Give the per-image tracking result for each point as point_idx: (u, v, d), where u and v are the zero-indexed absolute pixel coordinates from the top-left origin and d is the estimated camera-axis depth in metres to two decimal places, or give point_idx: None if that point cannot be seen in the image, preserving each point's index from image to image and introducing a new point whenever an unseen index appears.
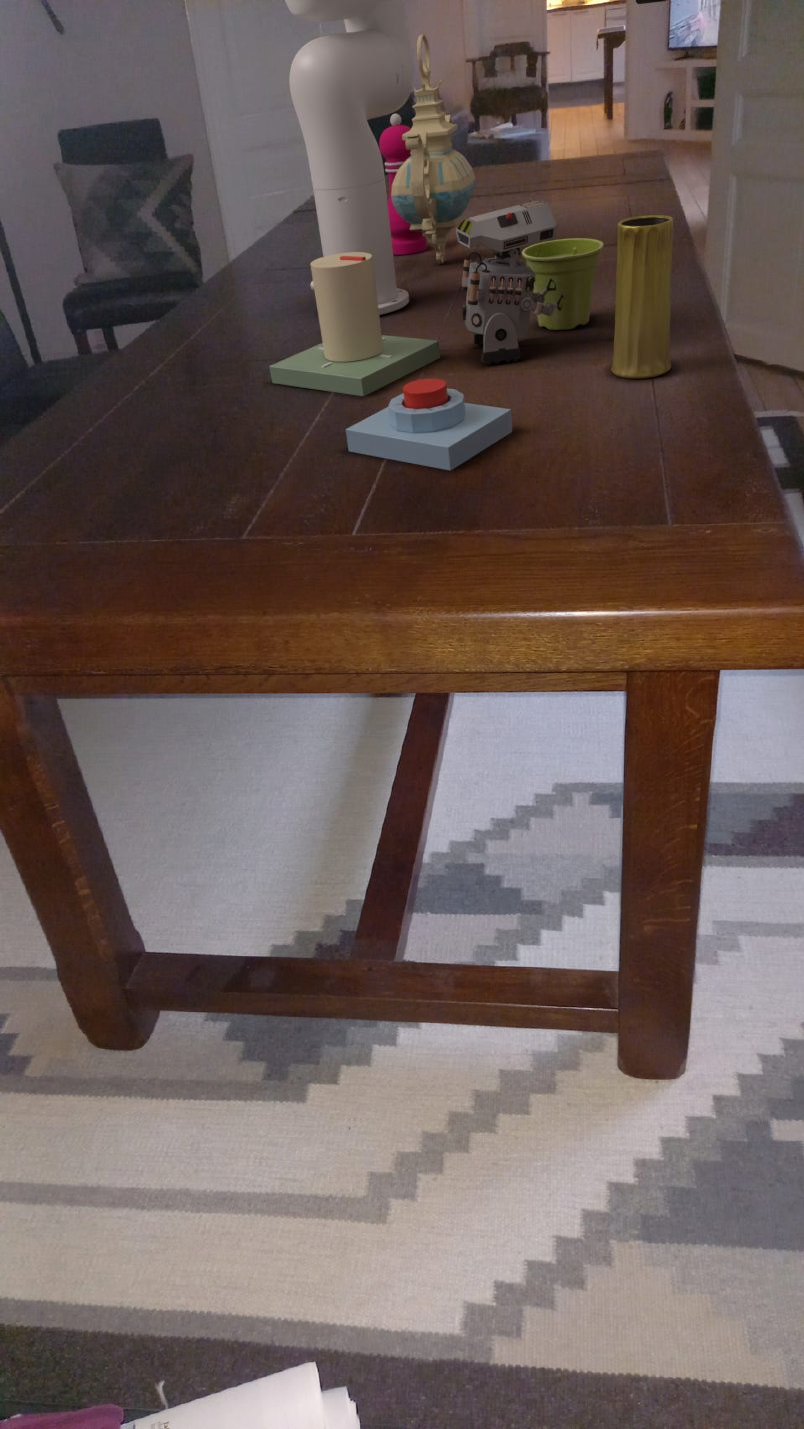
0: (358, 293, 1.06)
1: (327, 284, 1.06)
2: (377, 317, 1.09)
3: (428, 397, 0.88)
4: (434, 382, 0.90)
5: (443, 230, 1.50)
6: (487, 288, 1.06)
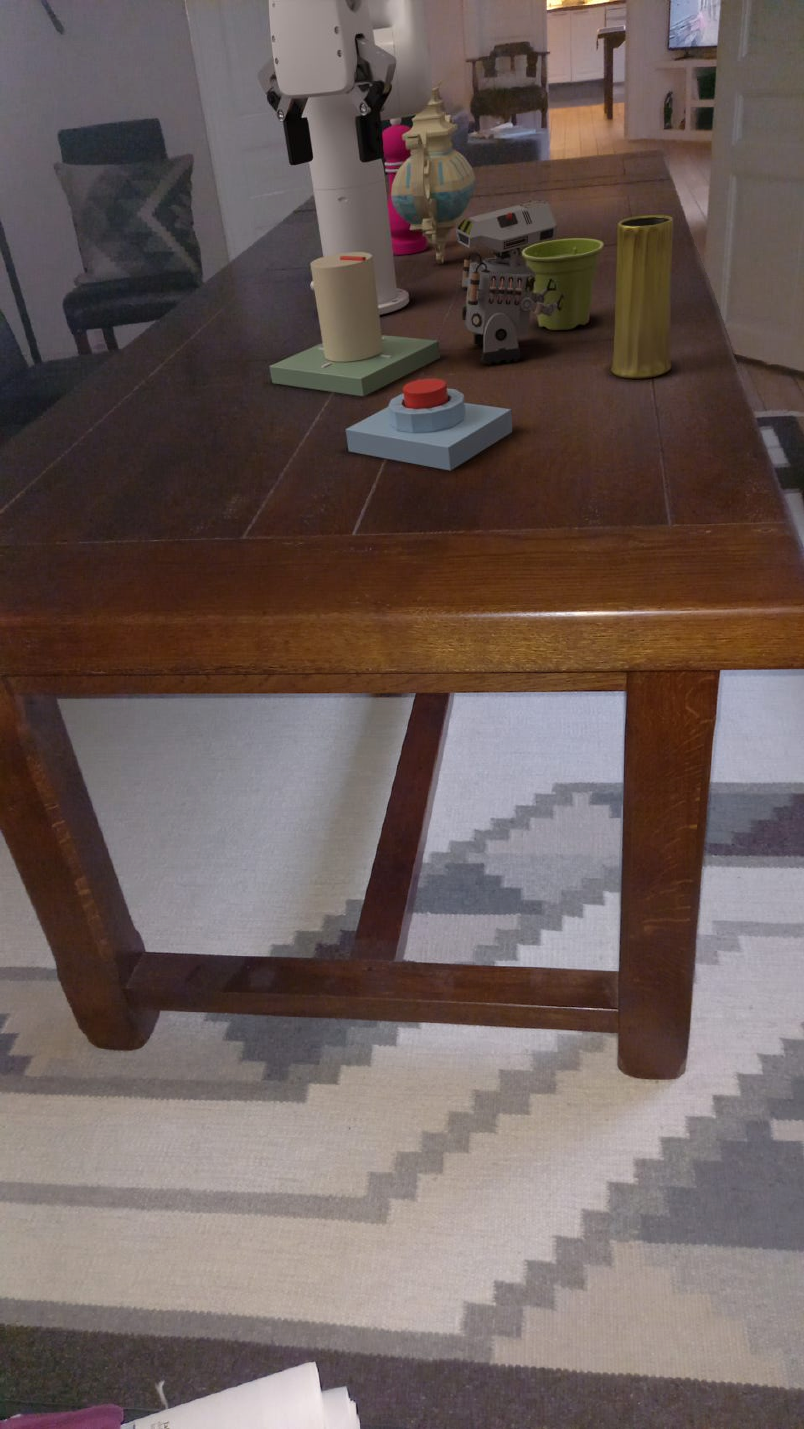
0: (358, 293, 1.06)
1: (327, 284, 1.06)
2: (377, 317, 1.09)
3: (428, 397, 0.88)
4: (434, 382, 0.90)
5: (443, 230, 1.50)
6: (487, 288, 1.06)
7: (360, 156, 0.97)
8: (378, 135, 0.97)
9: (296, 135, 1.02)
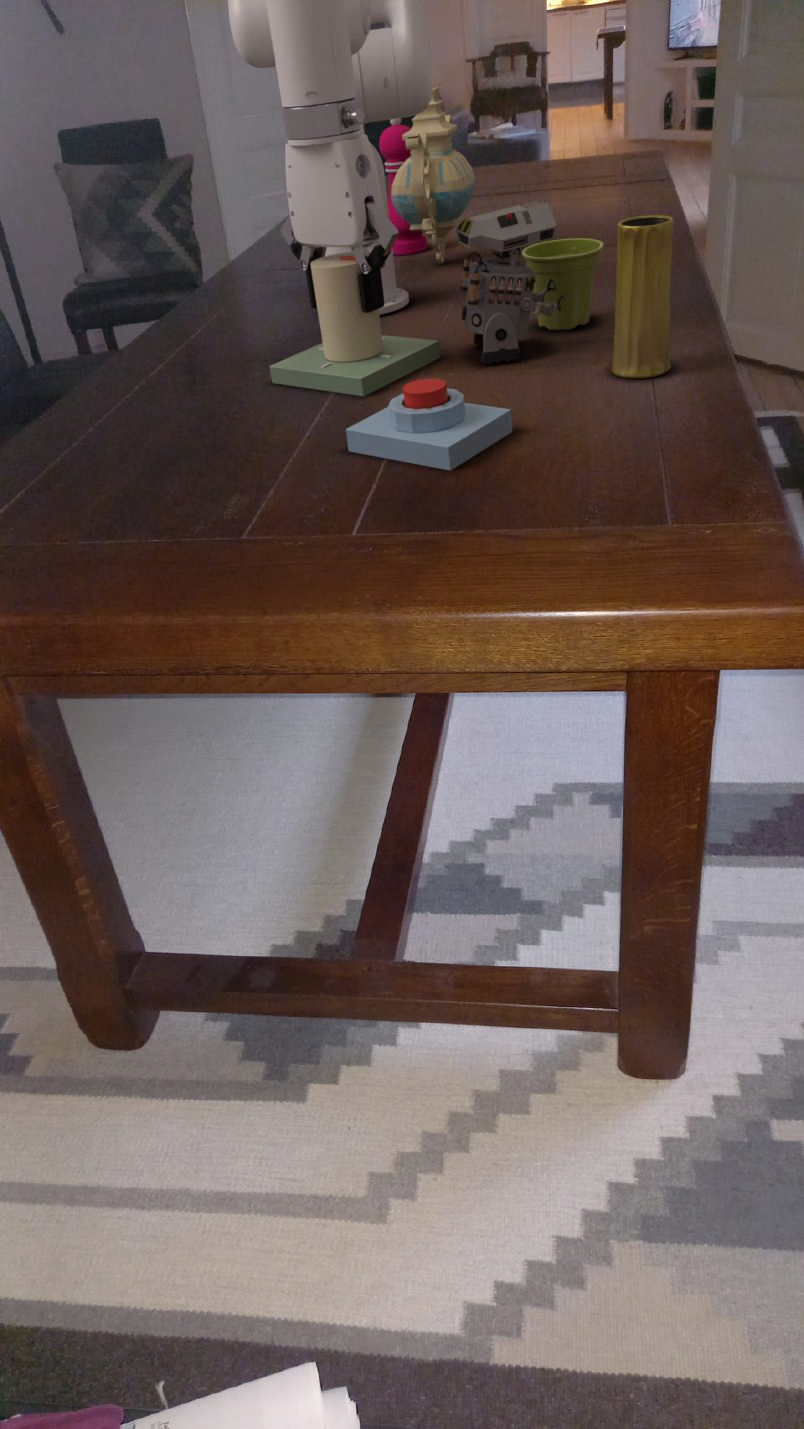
0: (358, 293, 1.06)
1: (327, 284, 1.06)
2: (377, 317, 1.09)
3: (428, 397, 0.88)
4: (434, 382, 0.90)
5: (443, 230, 1.50)
6: (487, 288, 1.06)
7: (362, 307, 1.07)
8: (378, 289, 1.06)
9: None
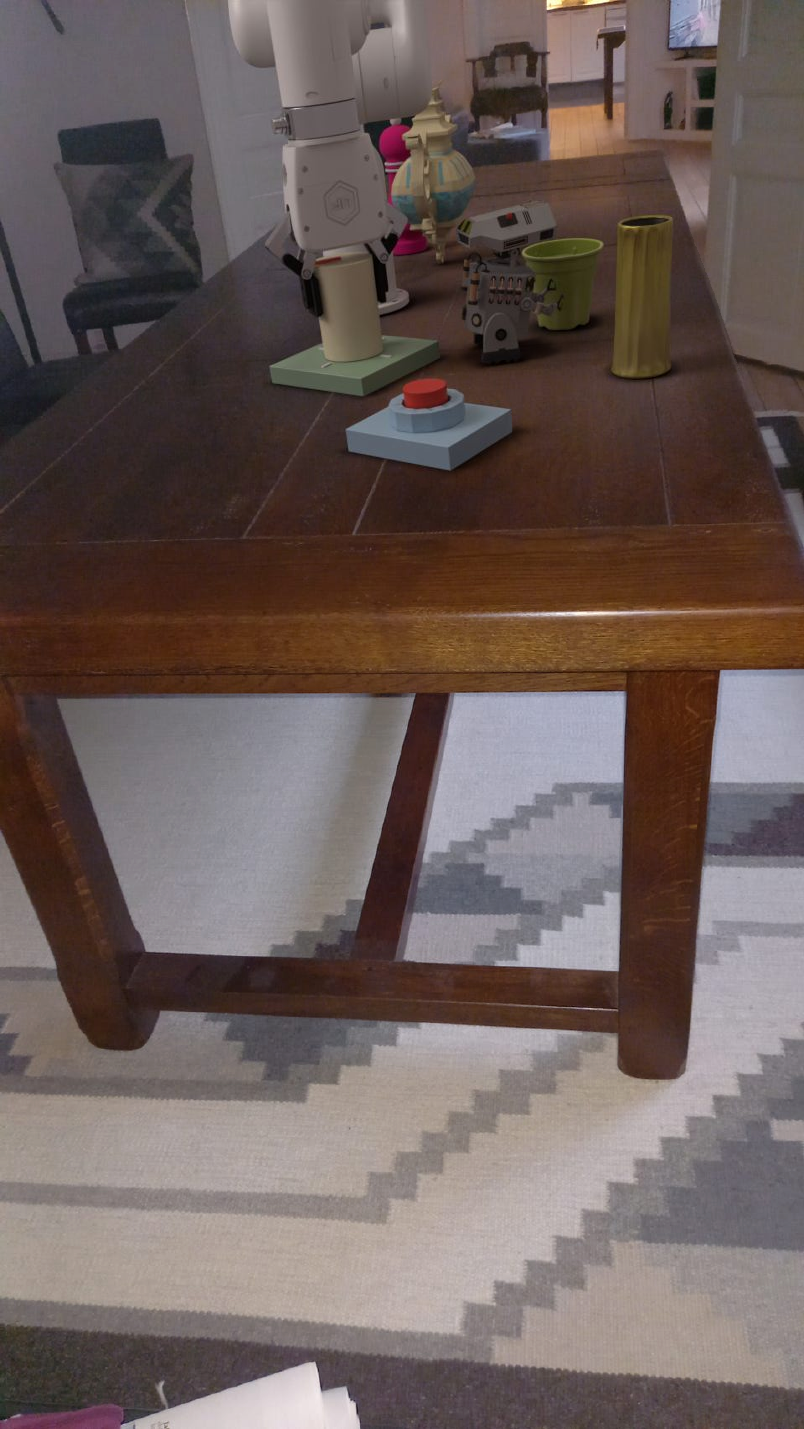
0: None
1: None
2: (326, 326, 1.09)
3: (428, 397, 0.88)
4: (434, 382, 0.90)
5: (443, 230, 1.50)
6: (487, 288, 1.06)
7: None
8: (304, 296, 1.07)
9: None
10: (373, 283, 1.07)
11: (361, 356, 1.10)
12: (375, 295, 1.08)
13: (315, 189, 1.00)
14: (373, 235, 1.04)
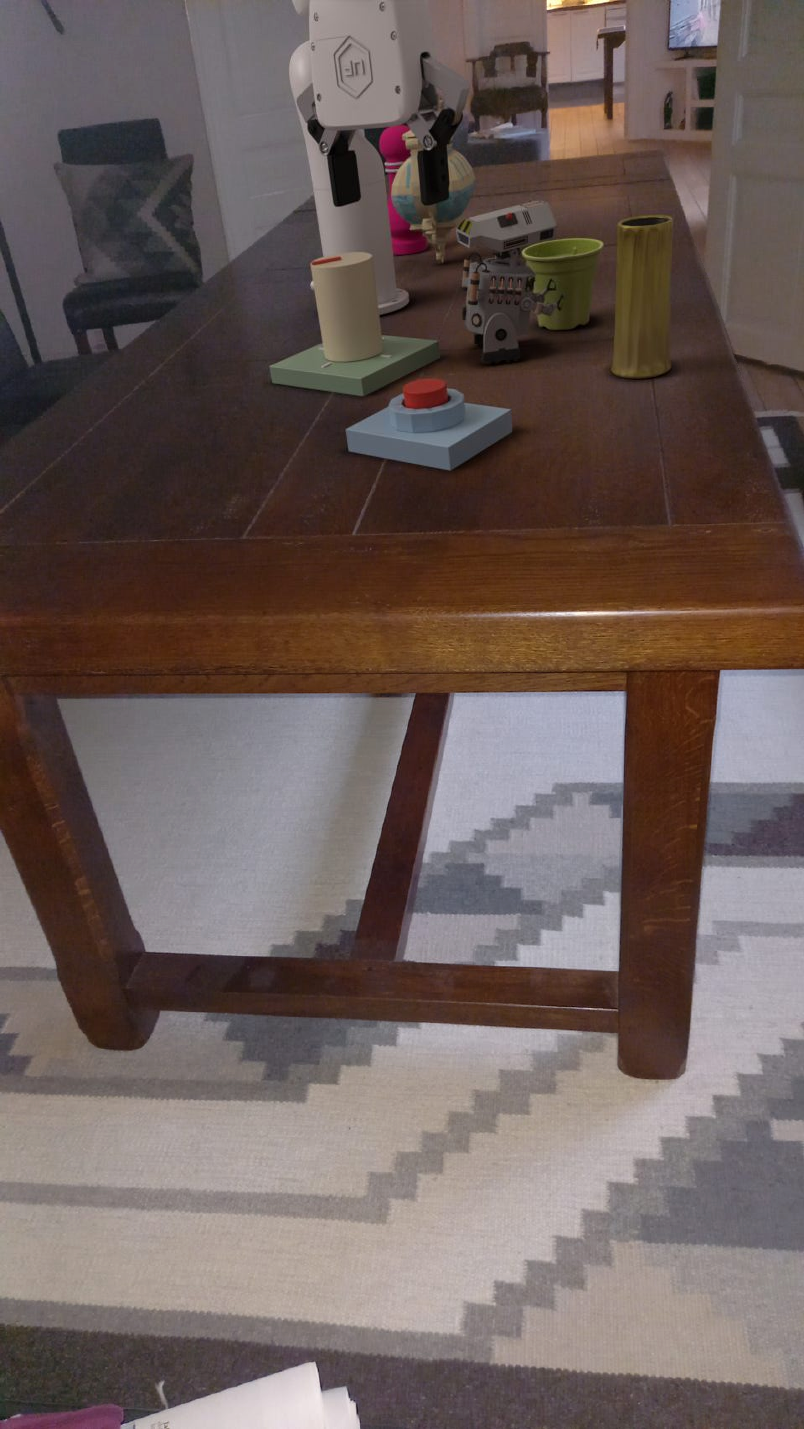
0: None
1: None
2: (326, 326, 1.09)
3: (428, 397, 0.88)
4: (434, 382, 0.90)
5: (443, 230, 1.50)
6: (487, 288, 1.06)
7: None
8: None
9: None
10: (373, 283, 1.07)
11: (361, 356, 1.10)
12: (375, 296, 1.08)
13: (326, 45, 0.78)
14: (389, 118, 0.78)
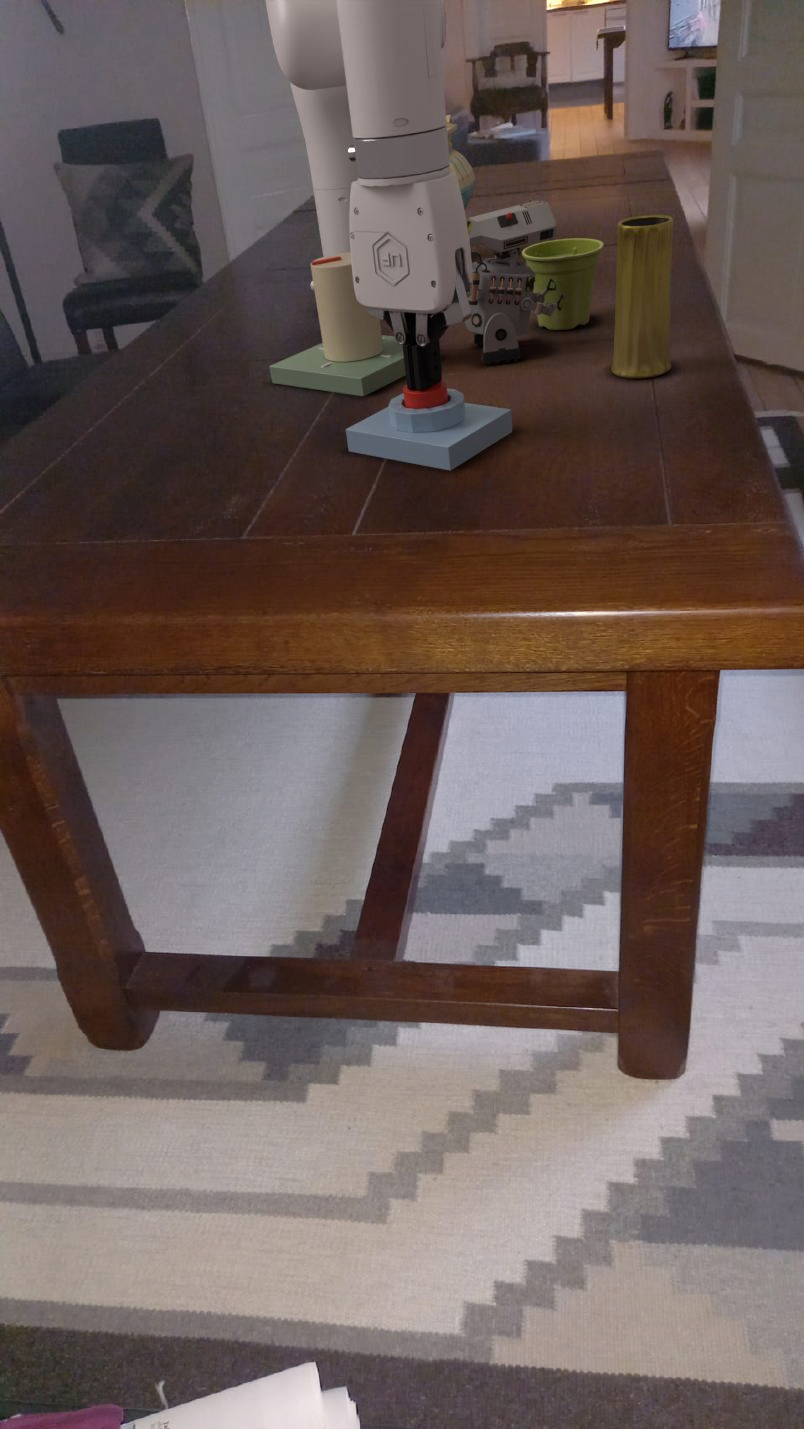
0: None
1: None
2: (326, 326, 1.09)
3: (428, 397, 0.88)
4: None
5: None
6: (487, 288, 1.06)
7: None
8: None
9: None
10: None
11: (361, 356, 1.10)
12: None
13: (365, 237, 0.82)
14: (424, 307, 0.82)
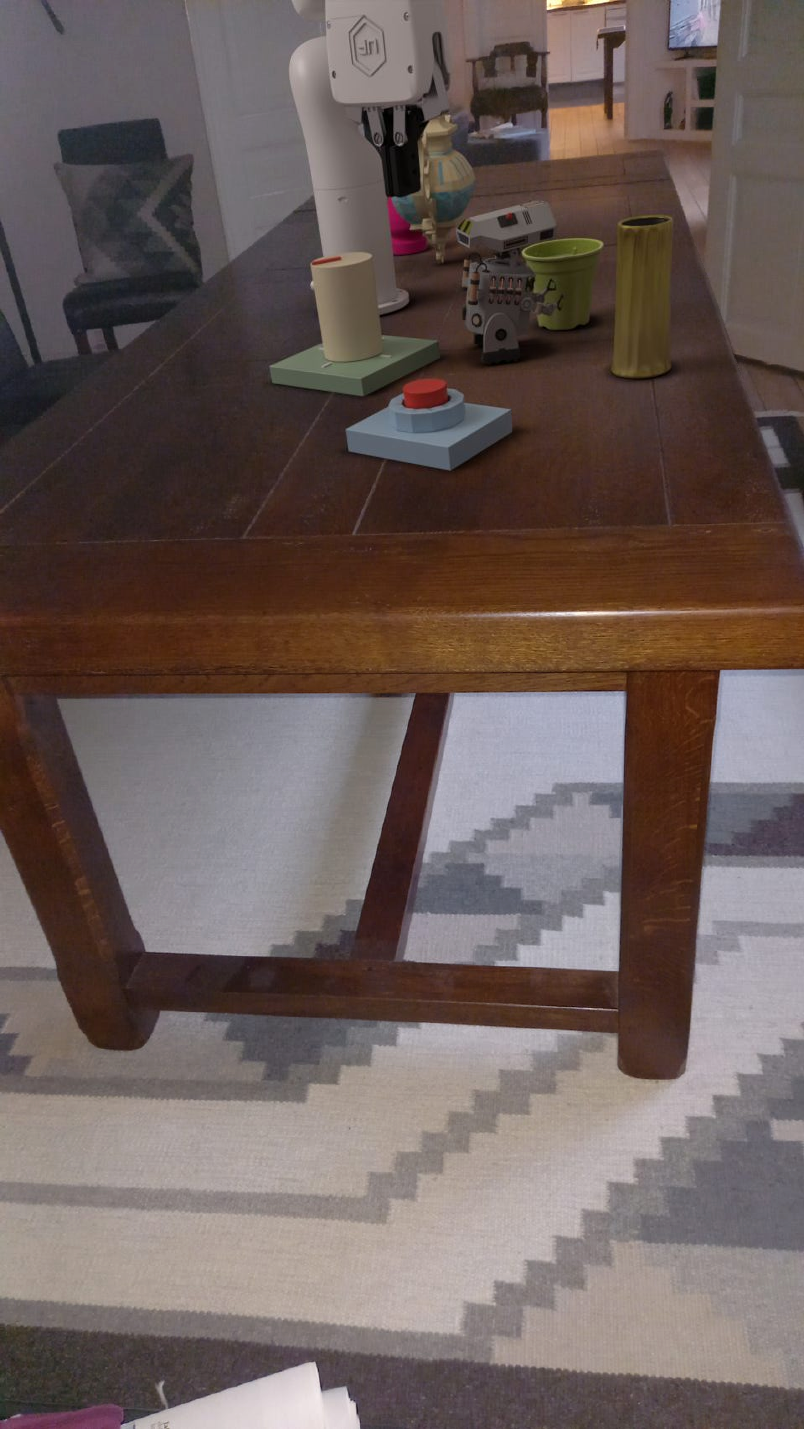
0: None
1: None
2: (326, 326, 1.09)
3: (428, 397, 0.88)
4: (434, 382, 0.90)
5: (443, 230, 1.50)
6: (487, 288, 1.06)
7: None
8: None
9: None
10: (373, 283, 1.07)
11: (361, 356, 1.10)
12: (375, 296, 1.08)
13: (341, 24, 0.80)
14: (401, 96, 0.80)
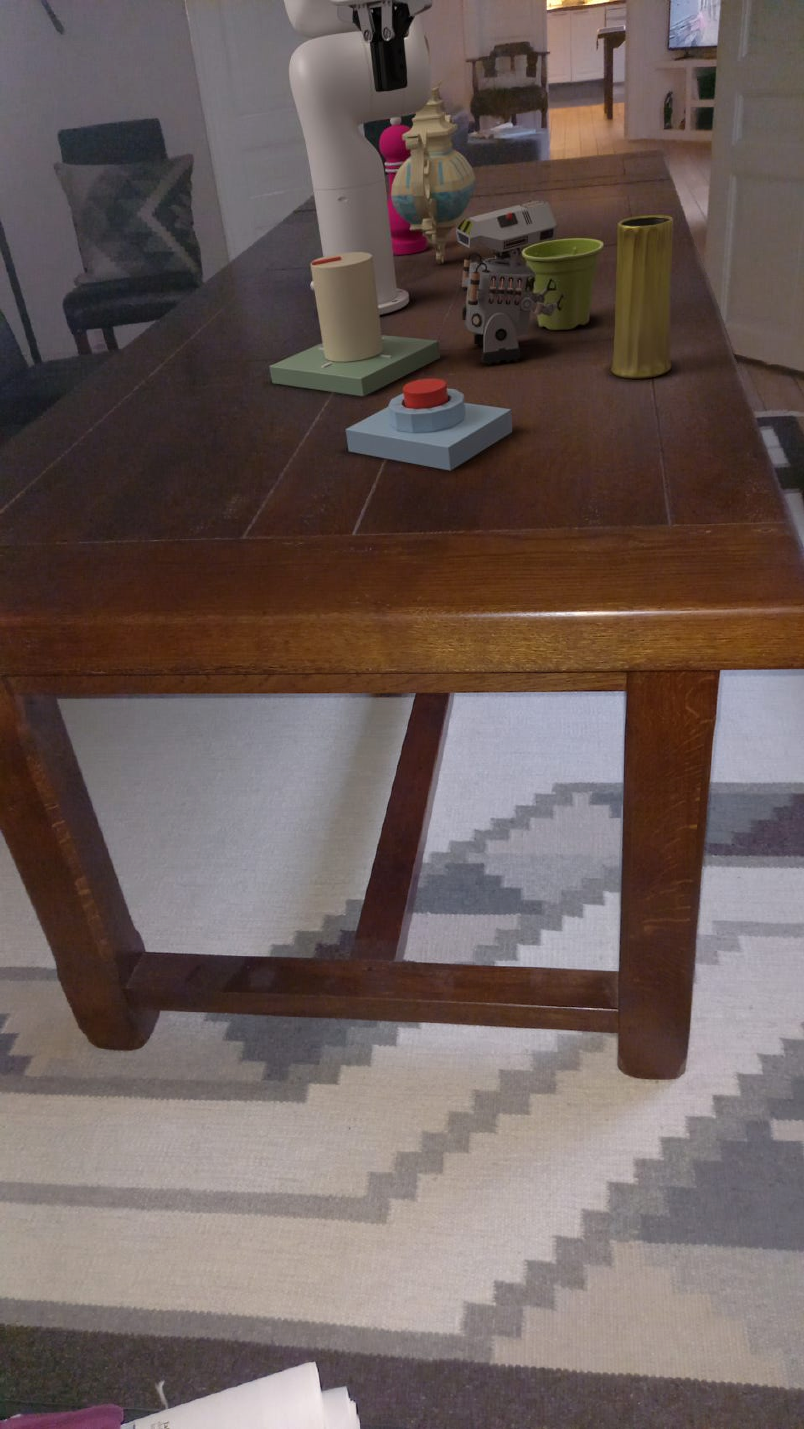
0: None
1: None
2: (326, 326, 1.09)
3: (428, 397, 0.88)
4: (434, 382, 0.90)
5: (443, 230, 1.50)
6: (487, 288, 1.06)
7: None
8: None
9: None
10: (373, 283, 1.07)
11: (361, 356, 1.10)
12: (375, 296, 1.08)
13: None
14: None
